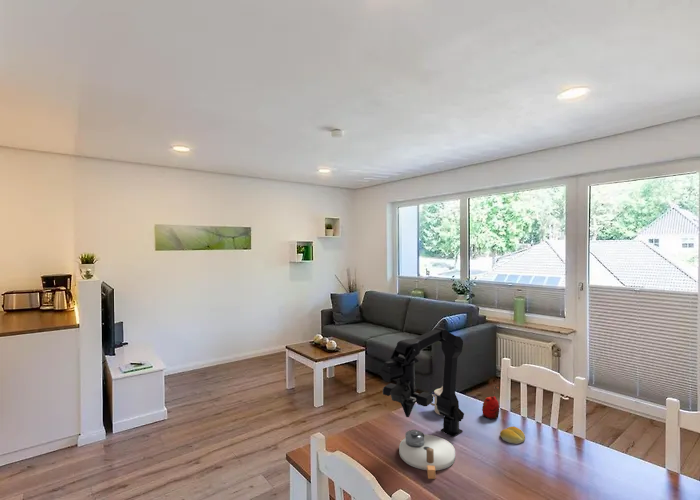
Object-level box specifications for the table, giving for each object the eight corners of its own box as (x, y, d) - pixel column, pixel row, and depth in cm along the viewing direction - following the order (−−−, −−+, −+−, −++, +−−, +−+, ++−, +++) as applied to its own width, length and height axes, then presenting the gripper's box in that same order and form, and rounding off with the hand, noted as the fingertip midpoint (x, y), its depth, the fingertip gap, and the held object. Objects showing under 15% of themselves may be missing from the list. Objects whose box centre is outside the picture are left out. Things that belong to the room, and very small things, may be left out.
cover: (404, 437, 144) (404, 426, 144) (423, 437, 144) (422, 427, 143) (406, 447, 137) (406, 436, 137) (425, 447, 137) (425, 436, 136)
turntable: (397, 439, 147) (397, 423, 147) (449, 439, 146) (448, 424, 145) (401, 469, 127) (401, 452, 127) (461, 471, 126) (460, 453, 125)
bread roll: (496, 437, 148) (496, 427, 148) (510, 431, 152) (510, 421, 152) (514, 447, 141) (514, 436, 141) (529, 440, 145) (529, 430, 145)
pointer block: (427, 474, 125) (427, 465, 125) (434, 474, 125) (434, 465, 125) (428, 478, 123) (428, 469, 123) (435, 478, 122) (435, 469, 122)
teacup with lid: (455, 408, 173) (454, 384, 173) (453, 417, 165) (453, 391, 165) (429, 405, 178) (428, 381, 177) (426, 413, 169) (425, 388, 169)
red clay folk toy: (489, 411, 170) (489, 379, 170) (503, 417, 164) (503, 383, 164) (478, 416, 166) (478, 382, 166) (492, 422, 160) (492, 387, 160)
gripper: (373, 376, 138) (374, 418, 139) (418, 388, 127) (419, 433, 127) (390, 368, 147) (391, 407, 147) (433, 378, 135) (434, 420, 136)
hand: (407, 416), depth 139 cm, fingers closed
